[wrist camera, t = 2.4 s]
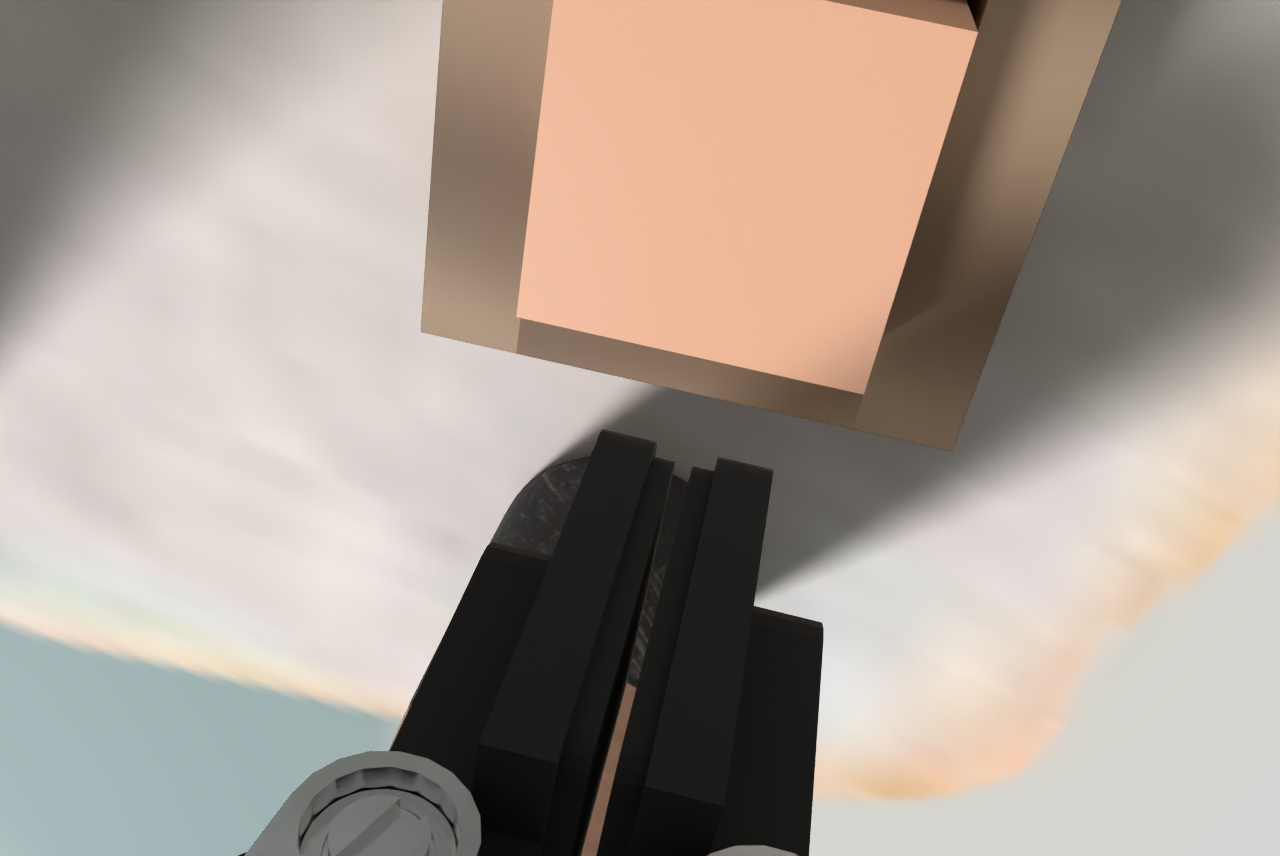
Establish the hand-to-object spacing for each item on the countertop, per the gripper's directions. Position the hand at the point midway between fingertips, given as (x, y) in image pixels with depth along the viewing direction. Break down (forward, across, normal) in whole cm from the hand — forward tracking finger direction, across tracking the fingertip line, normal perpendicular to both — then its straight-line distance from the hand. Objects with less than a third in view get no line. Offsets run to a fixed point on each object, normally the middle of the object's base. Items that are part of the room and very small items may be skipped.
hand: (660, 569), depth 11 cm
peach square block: (+16, +1, 0) cm, 16 cm away
